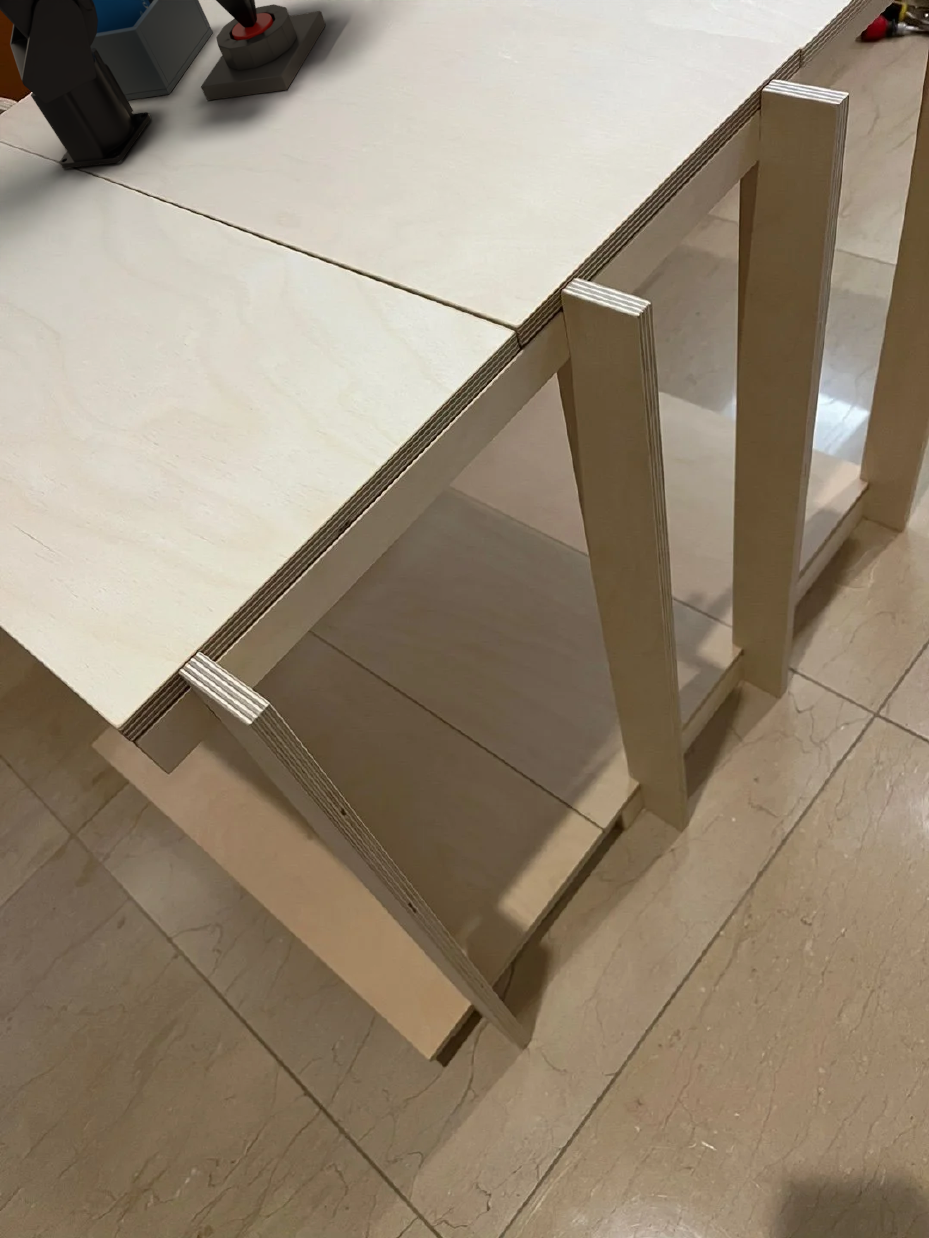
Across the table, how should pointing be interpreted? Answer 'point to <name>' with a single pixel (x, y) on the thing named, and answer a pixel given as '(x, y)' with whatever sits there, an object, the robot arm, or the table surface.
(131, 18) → the beverage can
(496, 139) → the table surface
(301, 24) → the panel
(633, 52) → the table surface
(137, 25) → the basket
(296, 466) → the table surface
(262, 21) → the button
